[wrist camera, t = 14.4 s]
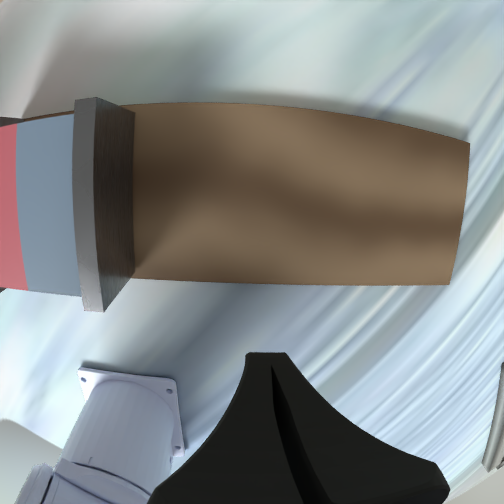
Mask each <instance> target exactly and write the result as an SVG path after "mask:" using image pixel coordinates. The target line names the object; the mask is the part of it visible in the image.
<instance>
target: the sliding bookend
mask: <svg viewBox="0 0 504 504" xmlns="http://www.w3.org/2000/svg"><path fill="white" fill-rule="evenodd" d="M134 124H135V112H133V111H130V110H128V109H125V108H123V107H120V106H118V105H115V104H113V103H110V102H108V101H105V100H103V99H100V98H98V97H94V98H86V99H79V100H75V109H74V123H73V145H72V195H73V217H74V232H75V244H76V254H77V263H78V272H79V279H80V287H81V293H82V300H83V306H84V311H93V312H103V313H104V312H105V310H106V309H107V308H108V306H109V305H110V304H111V302H112V301H113V300H114V298H115V297H116V296H117V295H118V293H119V292H120V291H121V289H122V288H123V287H124V286H125V284H126V283H127V282H128V281H129V279H130V278H131V277H132V276H133V274H134V273H135V272H136V271H135V254H134V233H133V145H134Z"/></svg>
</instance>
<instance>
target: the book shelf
mask: <svg viewBox="0 0 504 504" xmlns="http://www.w3.org/2000/svg"><path fill="white" fill-rule="evenodd" d="M120 107H123V108H125V109H128V110H130V111H133V112H135V124H134V145H133V233H134V254H135V271H136V272H135V273H134V274H133V276H132V277H131V278H137V279H155V280H175V281H197V282H222V283H252V284H290V285H449V284H450V280H451V275H452V271H453V267H454V262H455V258H456V253H457V248H458V242H459V237H460V231H461V225H462V219H463V213H464V205H465V198H466V189H467V180H468V169H469V155H470V143H468V142H465V141H461V140H458V139H455V138H451V137H448V136H444V135H441V134H437V133H433V132H429V131H425V130H421V129H417V128H413V127H409V126H404V125H400V124H395V123H391V122H386V121H381V120H376V119H370V118H365V117H359V116H353V115H347V114H341V113H334V112H327V111H320V110H312V109H303V108H294V107H283V106H271V105H258V104H239V103H198V102H193V103H152V104H134V105H121V106H120ZM69 114H74V111H68V112H61V113H55V114H49V115H43V116H37V117H32V118H27V119H19V118H7V117H0V127H3V126H7V125H12V124H17V123H22V122H27V121H32V120H38V119H43V118H49V117H56V116H62V115H69ZM5 289H6V288H4V287H0V292H2V291H3V290H5Z"/></svg>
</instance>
